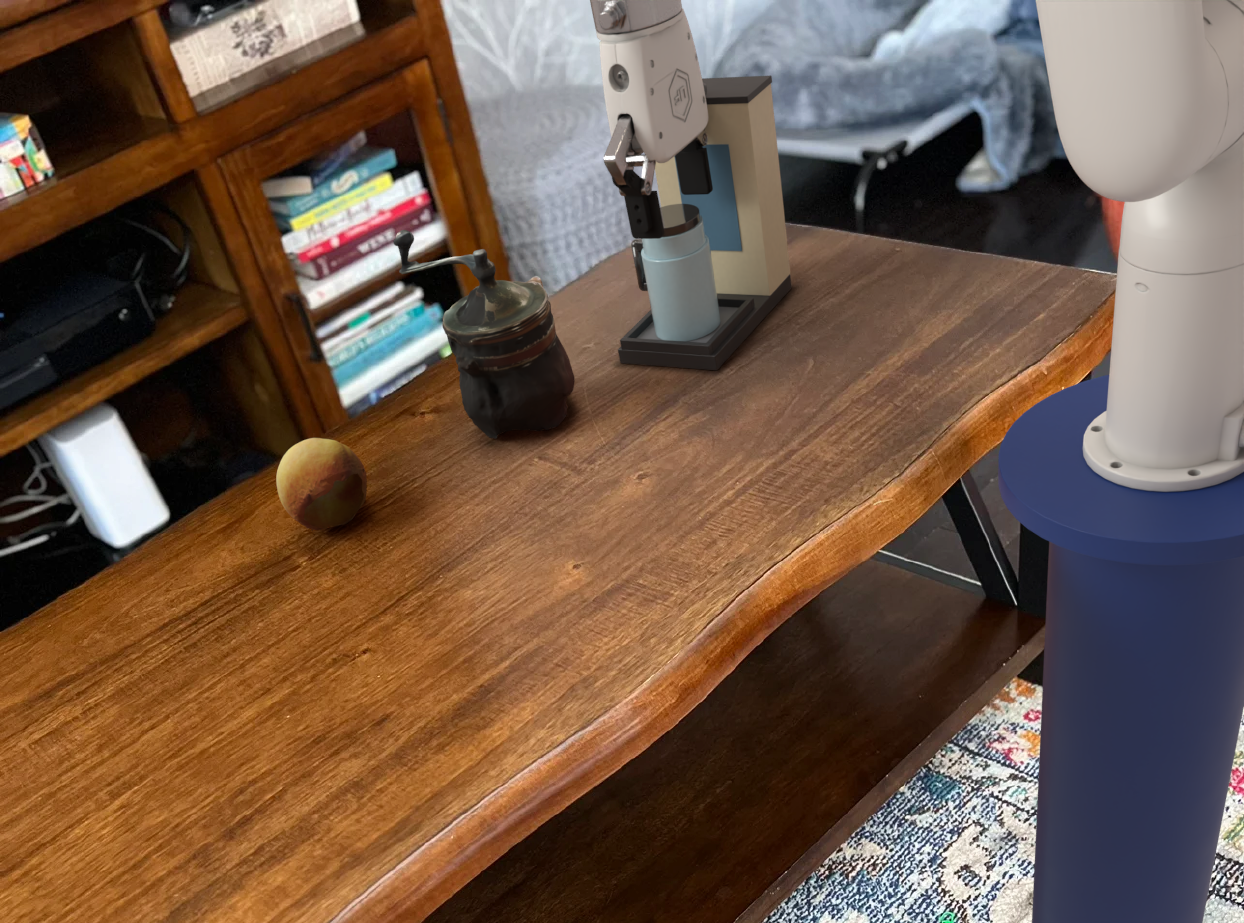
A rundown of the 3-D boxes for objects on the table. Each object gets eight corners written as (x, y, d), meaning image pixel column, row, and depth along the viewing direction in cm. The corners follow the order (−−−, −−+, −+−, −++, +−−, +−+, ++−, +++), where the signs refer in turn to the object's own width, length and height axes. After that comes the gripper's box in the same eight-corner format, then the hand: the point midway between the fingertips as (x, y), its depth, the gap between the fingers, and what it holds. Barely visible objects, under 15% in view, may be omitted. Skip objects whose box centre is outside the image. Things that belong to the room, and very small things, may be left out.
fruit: (395, 502, 119) (366, 423, 113) (342, 553, 114) (309, 474, 108) (333, 493, 122) (302, 416, 116) (279, 543, 118) (244, 465, 112)
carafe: (702, 344, 125) (684, 231, 117) (630, 339, 129) (609, 230, 121) (732, 312, 129) (716, 201, 121) (661, 309, 132) (642, 200, 125)
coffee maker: (718, 371, 124) (684, 151, 110) (619, 363, 129) (575, 152, 115) (793, 287, 134) (771, 75, 120) (698, 283, 139) (667, 79, 125)
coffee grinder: (470, 389, 132) (417, 209, 119) (602, 389, 126) (560, 200, 114) (415, 456, 124) (351, 271, 111) (552, 459, 118) (502, 264, 106)
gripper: (624, 39, 102) (665, 255, 114) (721, -30, 111) (749, 176, 123) (547, 46, 106) (594, 255, 117) (647, -21, 115) (681, 178, 127)
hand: (673, 214), depth 120 cm, fingers open, 9 cm apart
